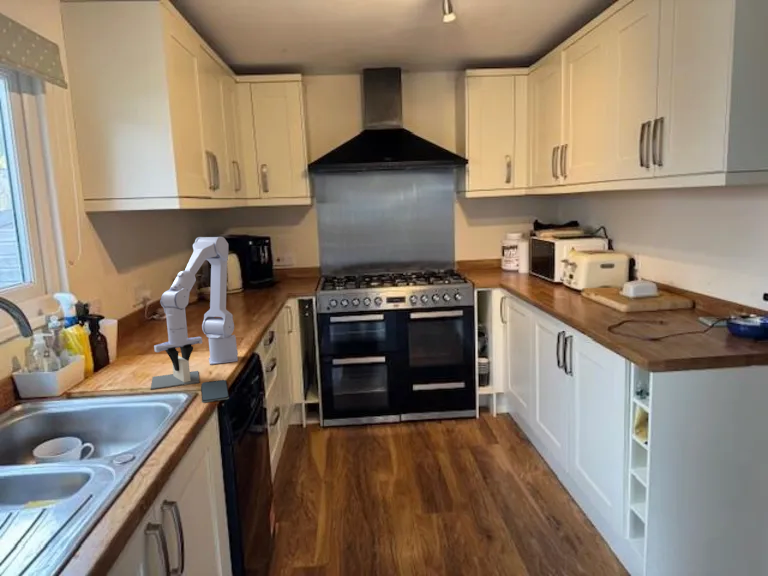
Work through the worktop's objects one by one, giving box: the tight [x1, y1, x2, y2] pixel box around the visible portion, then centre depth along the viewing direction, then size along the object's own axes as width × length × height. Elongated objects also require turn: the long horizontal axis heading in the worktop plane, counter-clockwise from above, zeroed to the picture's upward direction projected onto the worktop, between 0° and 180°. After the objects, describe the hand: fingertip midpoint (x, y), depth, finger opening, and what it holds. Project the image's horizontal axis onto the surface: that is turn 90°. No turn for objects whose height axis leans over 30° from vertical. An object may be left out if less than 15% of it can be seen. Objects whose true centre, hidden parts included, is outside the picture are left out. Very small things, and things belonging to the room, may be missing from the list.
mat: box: [150, 370, 200, 390], centre depth 171 cm, size 14×12×1 cm
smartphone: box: [200, 379, 230, 404], centre depth 159 cm, size 8×2×15 cm
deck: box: [171, 355, 191, 382], centre depth 171 cm, size 2×9×6 cm, turn 41°
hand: (181, 369), depth 171 cm, fingers closed on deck, 2 cm apart
